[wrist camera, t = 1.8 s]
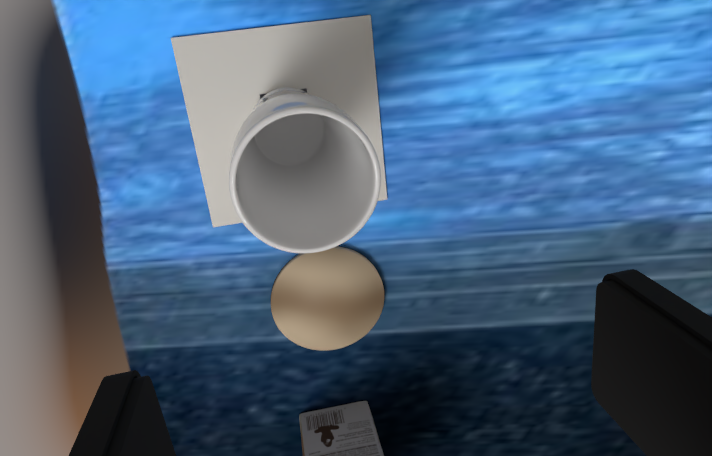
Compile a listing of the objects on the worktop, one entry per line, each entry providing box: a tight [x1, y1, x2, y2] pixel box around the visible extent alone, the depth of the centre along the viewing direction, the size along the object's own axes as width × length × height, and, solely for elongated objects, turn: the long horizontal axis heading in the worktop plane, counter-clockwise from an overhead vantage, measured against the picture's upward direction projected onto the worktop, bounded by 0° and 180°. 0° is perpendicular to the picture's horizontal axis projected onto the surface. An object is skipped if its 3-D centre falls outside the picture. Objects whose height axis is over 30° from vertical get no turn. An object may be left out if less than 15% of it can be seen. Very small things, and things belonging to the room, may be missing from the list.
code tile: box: [171, 15, 387, 227], centre depth 37 cm, size 13×13×1 cm
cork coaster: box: [271, 246, 384, 350], centre depth 42 cm, size 9×9×1 cm
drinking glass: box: [229, 87, 381, 253], centre depth 30 cm, size 7×7×15 cm
